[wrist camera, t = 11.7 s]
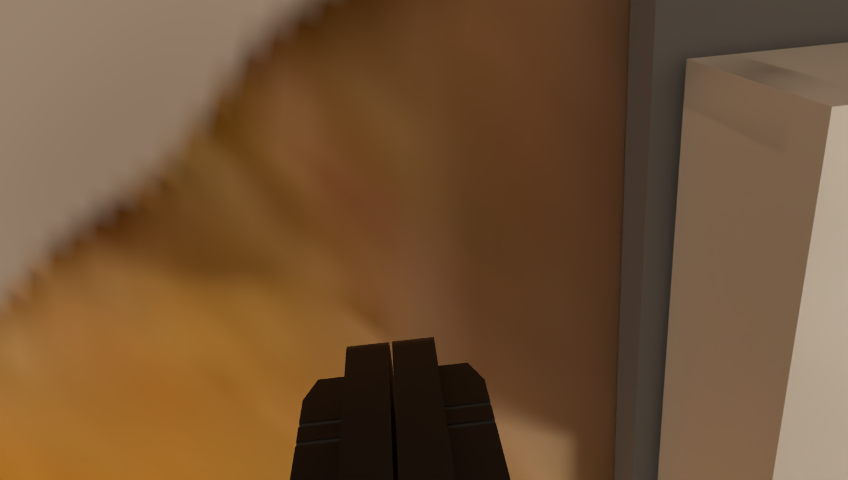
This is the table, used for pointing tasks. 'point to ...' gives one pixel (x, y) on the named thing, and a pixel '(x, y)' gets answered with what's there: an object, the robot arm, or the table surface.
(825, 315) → the cover
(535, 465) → the table surface
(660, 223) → the plate
